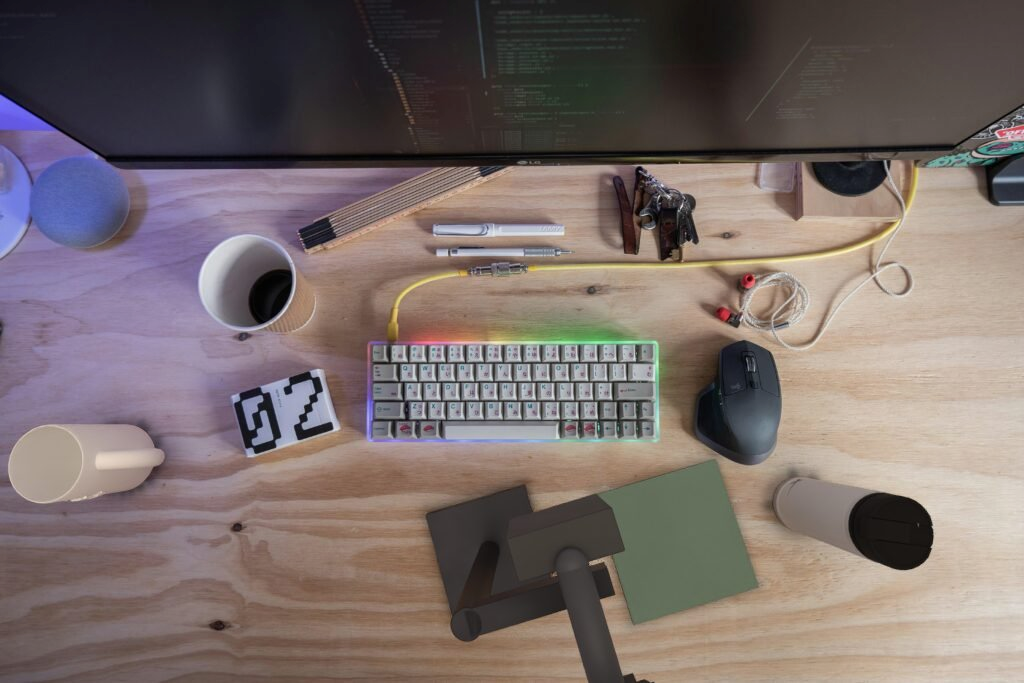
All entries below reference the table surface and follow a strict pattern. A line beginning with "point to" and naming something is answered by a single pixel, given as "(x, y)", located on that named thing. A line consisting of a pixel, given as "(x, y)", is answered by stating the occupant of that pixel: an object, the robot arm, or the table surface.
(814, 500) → the travel mug
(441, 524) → the stand
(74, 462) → the mug
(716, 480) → the desk mat
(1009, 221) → the table surface
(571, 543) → the square-ended dumbbell
